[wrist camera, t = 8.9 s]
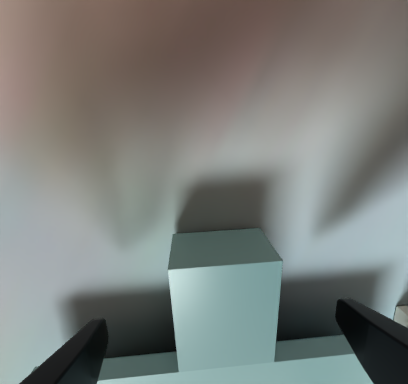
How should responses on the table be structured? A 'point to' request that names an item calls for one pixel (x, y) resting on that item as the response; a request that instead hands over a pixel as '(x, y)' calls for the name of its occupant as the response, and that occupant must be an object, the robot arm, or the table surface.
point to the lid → (232, 322)
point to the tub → (401, 315)
